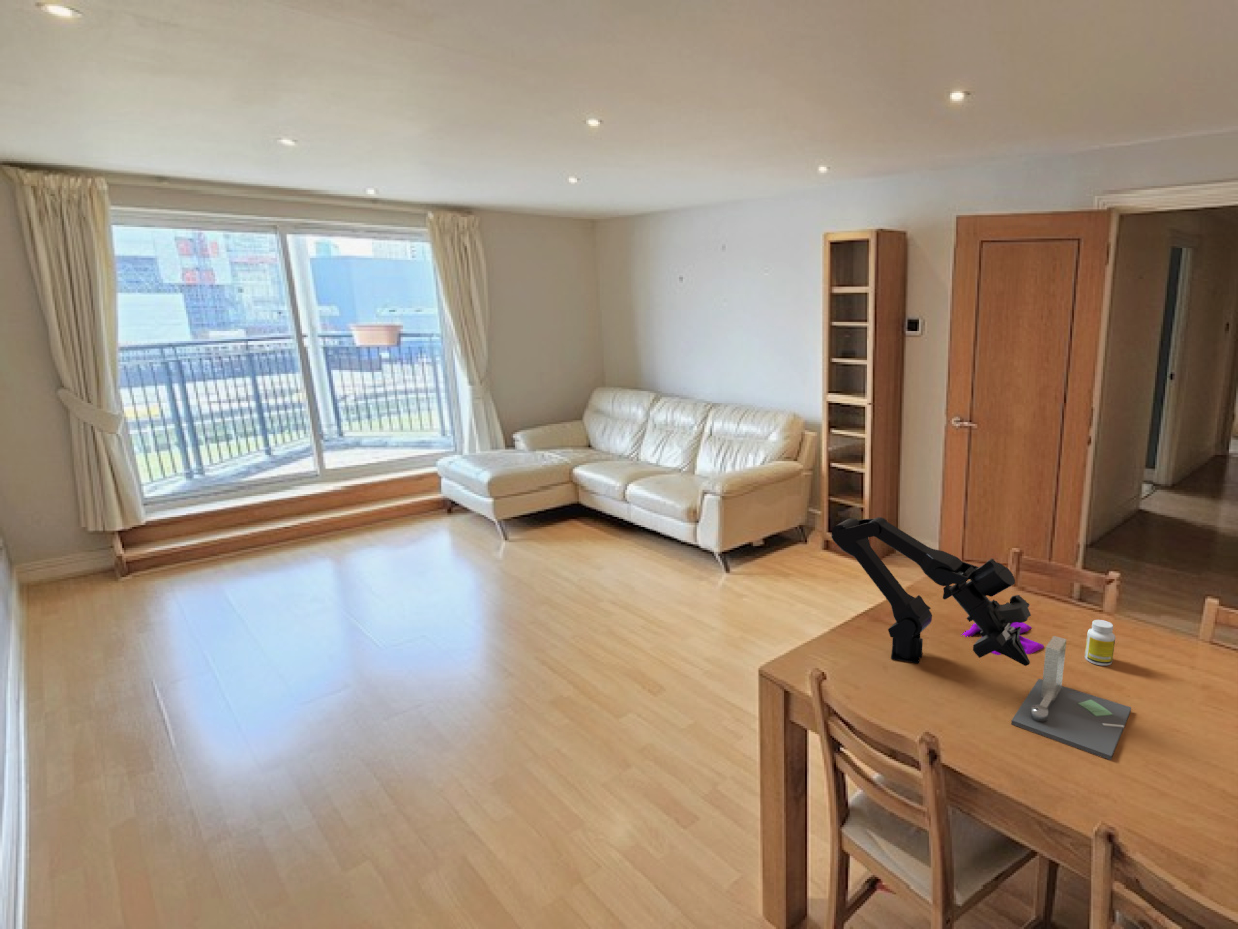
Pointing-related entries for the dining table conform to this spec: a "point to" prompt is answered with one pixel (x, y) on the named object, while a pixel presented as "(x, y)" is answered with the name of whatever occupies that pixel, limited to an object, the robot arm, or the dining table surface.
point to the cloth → (1026, 643)
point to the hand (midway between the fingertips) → (1027, 664)
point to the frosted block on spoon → (1050, 677)
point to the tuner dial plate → (1076, 720)
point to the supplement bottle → (1100, 643)
